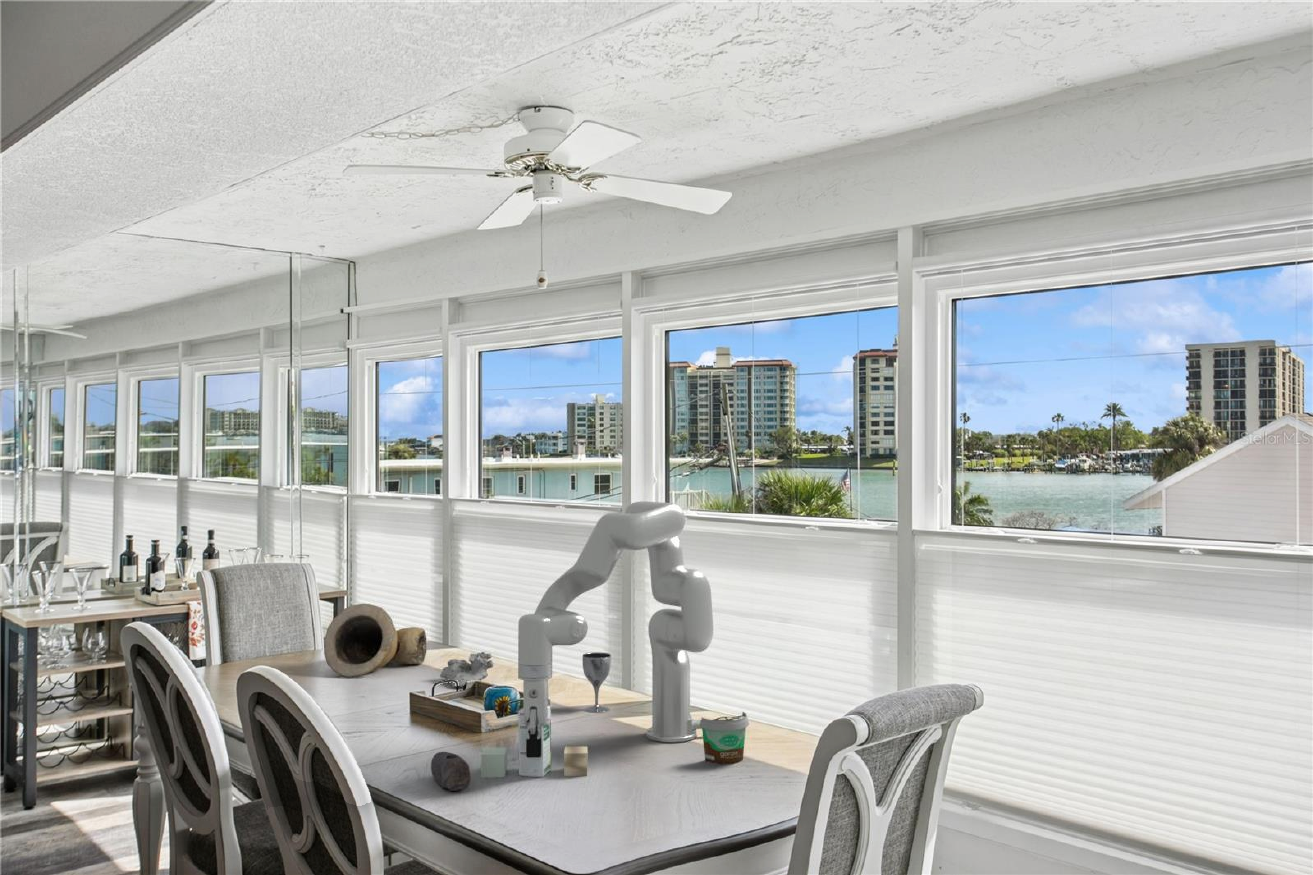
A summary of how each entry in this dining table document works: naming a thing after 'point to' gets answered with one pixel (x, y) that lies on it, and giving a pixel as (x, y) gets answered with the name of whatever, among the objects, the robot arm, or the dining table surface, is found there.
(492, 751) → the sage cube
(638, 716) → the dining table surface
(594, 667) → the wine glass
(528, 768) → the syrup box
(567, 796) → the dining table surface
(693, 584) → the robot arm
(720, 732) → the food container
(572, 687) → the dining table surface
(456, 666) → the coral
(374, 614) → the footed stone vessel
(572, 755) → the birch cube
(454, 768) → the perforated stone tool
